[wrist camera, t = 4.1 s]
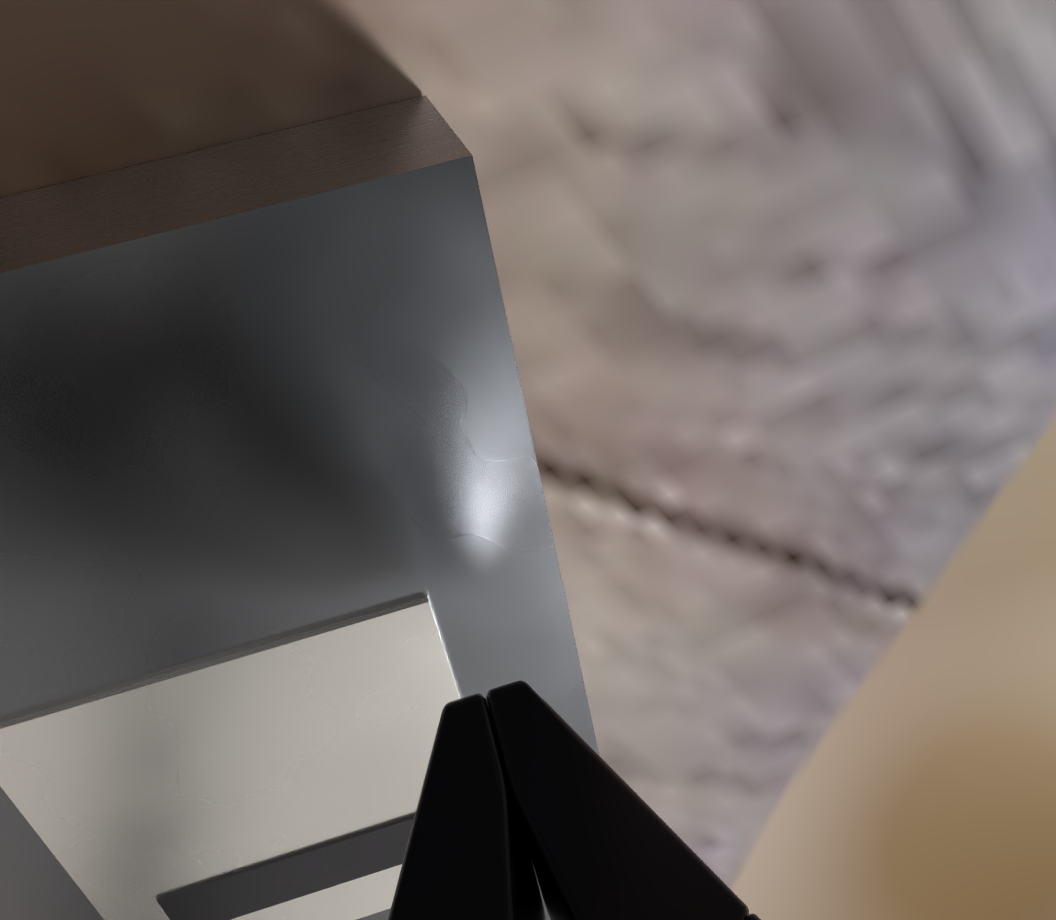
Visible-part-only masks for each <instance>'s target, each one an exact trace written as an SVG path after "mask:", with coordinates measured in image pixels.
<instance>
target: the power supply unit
mask: <svg viewBox="0 0 1056 920" xmlns="http://www.w3.org/2000/svg"><path fill="white" fill-rule="evenodd" d="M520 680H522V681H525V682H527V683H528V684H529V685H530V686H531V687H532V688H533V689H534V690H535V691H536V692H537V693H538V694H539V695H540V696H541V697H542V698H543V699H544V700H545V701H546V702H547V703H548V704H549V705H550V706H551V707H552V708H553V709H554V710H555V711H556V712H557V713H558V714H559V715H560V716H561V717H562V718H563V719H564V720H565V721H566V722H567V723H568V724H569V725H570V726H571V727H572V728H573V729H574V730H575V731H576V732H577V733H578V735H579V736H580V737H581V738H582V739H583V740H584V741H585V742H586V743H587V744H588V745H589V746H590V747H591V748H592V749H593V750H594V751H595V752H596V753H597V754H598V755H599V752H598V748H597V743H596V738H595V733H594V729H593V724H592V719H591V715H590V710H589V705H588V700H587V696H586V691H585V686H584V682H583V677H582V672H581V667H580V663H579V658H578V653H577V648H576V644H575V639H574V634H573V630H572V625H571V620H570V615H569V611H568V606H567V601H566V596H565V592H564V587H563V582H562V578H561V573H560V568H559V563H558V559H557V554H556V549H555V544H554V540H553V535H552V530H551V526H550V521H549V516H548V511H547V507H546V502H545V497H544V492H543V488H542V483H541V478H540V474H539V469H538V464H537V459H536V455H535V450H534V445H533V441H532V436H531V431H530V426H529V422H528V417H527V412H526V407H525V403H524V398H523V393H522V389H521V384H520V379H519V374H518V370H517V365H516V360H515V355H514V351H513V346H512V341H511V337H510V332H509V327H508V322H507V318H506V313H505V308H504V303H503V299H502V294H501V289H500V285H499V280H498V275H497V270H496V266H495V261H494V256H493V252H492V247H491V242H490V237H489V233H488V228H487V223H486V218H485V214H484V209H483V204H482V200H481V195H480V190H479V185H478V181H477V176H476V171H475V166H474V162H473V157H472V154H471V153H470V152H469V151H468V149H467V148H466V147H465V146H464V144H463V143H462V142H461V140H460V139H459V138H458V137H457V135H456V134H455V133H454V131H453V130H452V129H451V128H450V126H449V125H448V124H447V123H446V121H445V120H444V119H443V117H442V116H441V115H440V114H439V112H438V111H437V110H436V108H435V107H434V106H433V105H432V103H431V102H430V101H429V100H428V98H427V97H426V96H421V97H417V98H412V99H408V100H404V101H400V102H396V103H392V104H388V105H383V106H379V107H375V108H371V109H367V110H363V111H359V112H354V113H350V114H346V115H342V116H338V117H334V118H330V119H326V120H321V121H317V122H313V123H309V124H305V125H301V126H297V127H292V128H288V129H284V130H280V131H276V132H272V133H268V134H263V135H259V136H255V137H251V138H247V139H243V140H239V141H234V142H230V143H226V144H222V145H218V146H214V147H210V148H205V149H201V150H197V151H193V152H189V153H185V154H181V155H177V156H172V157H168V158H164V159H160V160H156V161H152V162H148V163H143V164H139V165H135V166H131V167H127V168H123V169H119V170H114V171H110V172H106V173H102V174H98V175H94V176H90V177H85V178H81V179H77V180H73V181H69V182H65V183H61V184H56V185H52V186H48V187H44V188H40V189H36V190H32V191H28V192H23V193H19V194H15V195H11V196H7V197H3V198H0V920H388V917H389V913H390V909H391V906H392V902H393V898H394V894H395V890H396V886H397V883H398V879H399V875H400V871H401V867H402V863H403V859H404V856H405V852H406V848H407V844H408V840H409V836H410V832H411V829H412V825H413V821H414V817H415V813H416V809H417V805H418V802H419V798H420V794H421V790H422V786H423V782H424V779H425V775H426V771H427V767H428V763H429V759H430V755H431V752H432V748H433V744H434V740H435V736H436V732H437V728H438V725H439V721H440V717H441V713H442V710H443V708H444V706H445V705H446V704H447V703H449V702H451V701H454V700H457V699H461V698H464V697H467V696H470V695H474V694H478V693H480V694H483V695H484V696H485V698H486V695H487V692H488V691H489V690H491V689H493V688H496V687H500V686H503V685H506V684H509V683H513V682H516V681H520ZM486 700H487V698H486ZM535 874H536V873H535ZM536 877H537V876H536ZM537 881H538V880H537ZM538 885H539V883H538ZM539 889H540V886H539ZM540 893H541V889H540ZM541 897H542V901H543V905H544V910H545V915H546V920H550V917H549V914H548V912H547V909H546V906H545V902H544V899H543V896H542V893H541Z"/></svg>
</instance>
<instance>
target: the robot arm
mask: <svg viewBox="0 0 1056 920" xmlns="http://www.w3.org/2000/svg"><path fill="white" fill-rule="evenodd" d="M486 698H487V700H486ZM486 698H485V696H484V695H483V694H480V693H478V694H474V695H470V696H467V697H464V698H461V699H457V700H454V701H451V702H449V703H447V704H446V705H445V706H444V708H443V710H442V713H441V717H440V721H439V725H438V728H437V732H436V736H435V740H434V744H433V748H432V752H431V755H430V759H429V763H428V767H427V771H426V775H425V779H424V782H423V786H422V790H421V794H420V798H419V802H418V805H417V809H416V813H415V817H414V821H413V825H412V829H411V832H410V836H409V840H408V844H407V848H406V852H405V856H404V859H403V863H402V867H401V871H400V875H399V879H398V883H397V886H396V890H395V894H394V898H393V902H392V906H391V909H390V913H389V917H388V920H546V915H545V910H544V905H543V901H542V897H541V893H542V896H543V899H544V902H545V906H546V909H547V912H548V914H549V917H550V920H761V919H759V918H758V916H757V915H755V914H750V915H749V910H748V907H747V906H746V905H745V904H744V903H743V902H742V901H741V900H740V899H739V898H738V897H737V896H736V895H735V894H734V893H733V892H732V891H731V889H730V888H729V887H728V886H727V885H726V884H725V883H724V882H723V881H722V880H721V879H720V878H719V877H718V876H717V875H716V874H715V873H714V872H713V871H712V870H711V869H710V868H709V867H708V866H707V865H706V864H705V863H704V862H703V861H702V860H701V859H700V858H699V857H698V856H697V855H696V854H695V853H694V852H693V851H692V850H691V849H690V848H689V847H688V846H687V845H686V844H685V843H684V842H683V841H682V840H681V839H680V837H679V836H678V835H677V834H676V833H675V832H674V831H673V830H672V829H671V828H670V827H669V826H668V825H667V824H666V823H665V822H664V821H663V820H662V819H661V818H660V817H659V816H658V815H657V814H656V813H655V812H654V811H653V810H652V809H651V808H650V807H649V806H648V805H647V804H646V803H645V802H644V801H643V800H642V799H641V798H640V797H639V796H638V795H637V794H636V793H635V792H634V791H633V790H632V789H631V788H630V787H629V785H628V784H627V783H626V782H625V781H624V780H623V779H622V778H621V777H620V776H619V775H618V774H617V773H616V772H615V771H614V770H613V769H612V768H611V767H610V766H609V765H608V764H607V763H606V762H605V761H604V760H603V759H602V758H601V757H600V756H599V755H598V754H597V753H596V752H595V751H594V750H593V749H592V748H591V747H590V746H589V745H588V744H587V743H586V742H585V741H584V740H583V739H582V738H581V737H580V736H579V735H578V733H577V732H576V731H575V730H574V729H573V728H572V727H571V726H570V725H569V724H568V723H567V722H566V721H565V720H564V719H563V718H562V717H561V716H560V715H559V714H558V713H557V712H556V711H555V710H554V709H553V708H552V707H551V706H550V705H549V704H548V703H547V702H546V701H545V700H544V699H543V698H542V697H541V696H540V695H539V694H538V693H537V692H536V691H535V690H534V689H533V688H532V687H531V686H530V685H529V684H528V683H527V682H525V681H522V680H520V681H516V682H513V683H509V684H506V685H503V686H500V687H496V688H493V689H491V690H489V691H488V692H487V695H486ZM535 873H536V874H535ZM536 876H537V877H536ZM537 880H538V881H537ZM538 883H539V885H538ZM539 886H540V889H541V893H540V889H539Z"/></svg>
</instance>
